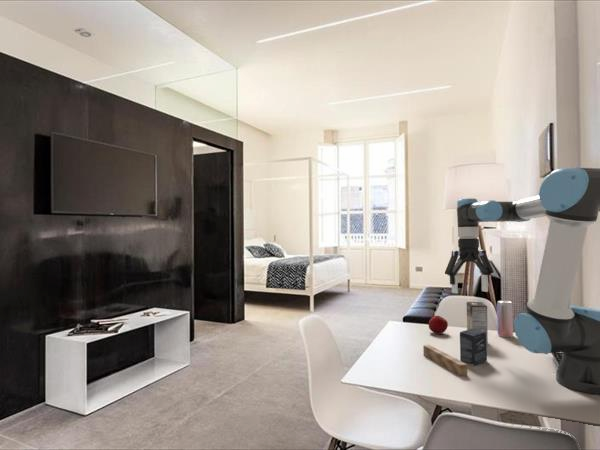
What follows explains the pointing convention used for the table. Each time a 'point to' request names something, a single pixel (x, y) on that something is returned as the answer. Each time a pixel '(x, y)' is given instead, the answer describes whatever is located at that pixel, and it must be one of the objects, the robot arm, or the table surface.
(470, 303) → the coffee box
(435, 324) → the apple
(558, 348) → the robot arm
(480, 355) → the box
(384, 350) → the table surface
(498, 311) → the beverage can
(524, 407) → the table surface
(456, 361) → the board
